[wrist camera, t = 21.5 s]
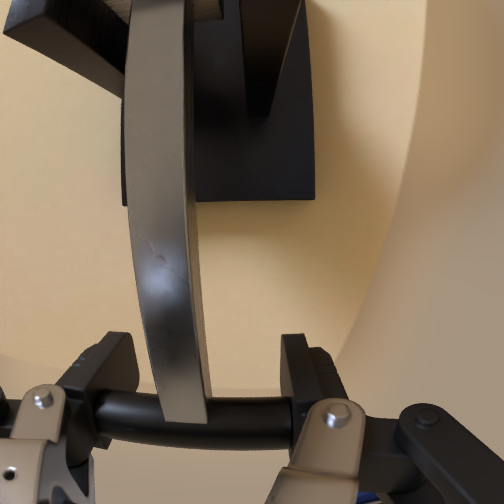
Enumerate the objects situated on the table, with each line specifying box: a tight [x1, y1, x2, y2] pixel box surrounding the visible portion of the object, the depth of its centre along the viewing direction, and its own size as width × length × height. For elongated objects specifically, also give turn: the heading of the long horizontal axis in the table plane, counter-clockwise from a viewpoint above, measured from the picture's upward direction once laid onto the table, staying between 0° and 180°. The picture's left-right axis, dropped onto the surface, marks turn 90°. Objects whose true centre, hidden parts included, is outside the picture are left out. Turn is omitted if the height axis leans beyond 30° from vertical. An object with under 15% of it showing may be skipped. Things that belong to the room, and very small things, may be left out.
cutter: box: [3, 0, 315, 206], centre depth 8 cm, size 12×9×12 cm
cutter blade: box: [94, 0, 293, 451], centre depth 6 cm, size 13×5×2 cm, turn 1°
